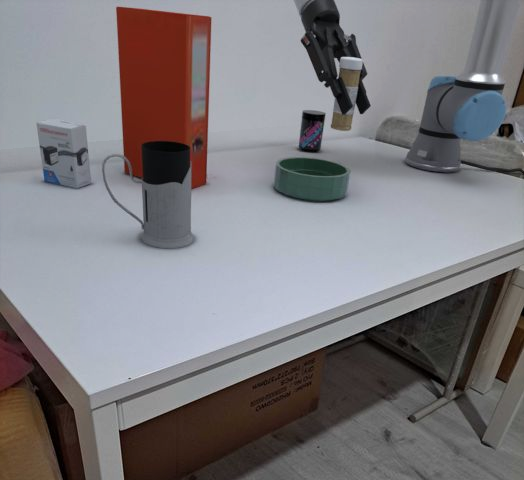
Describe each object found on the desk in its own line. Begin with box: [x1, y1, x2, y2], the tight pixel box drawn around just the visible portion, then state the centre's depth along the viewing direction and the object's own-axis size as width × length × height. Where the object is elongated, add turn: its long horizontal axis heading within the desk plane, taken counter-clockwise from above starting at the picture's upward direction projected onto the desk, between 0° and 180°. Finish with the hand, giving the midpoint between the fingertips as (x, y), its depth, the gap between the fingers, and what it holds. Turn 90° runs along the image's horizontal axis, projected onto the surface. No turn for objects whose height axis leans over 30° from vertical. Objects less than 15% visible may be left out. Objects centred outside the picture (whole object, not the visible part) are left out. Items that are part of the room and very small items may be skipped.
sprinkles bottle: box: [330, 57, 364, 132], centre depth 108 cm, size 5×5×13 cm
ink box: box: [35, 118, 92, 189], centre depth 107 cm, size 8×5×12 cm, turn 68°
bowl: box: [273, 156, 352, 202], centre depth 118 cm, size 17×17×6 cm
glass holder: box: [101, 141, 194, 249], centre depth 84 cm, size 9×14×15 cm, turn 107°
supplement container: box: [298, 109, 327, 153], centre depth 153 cm, size 7×7×10 cm
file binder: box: [115, 6, 212, 190], centre depth 110 cm, size 8×17×32 cm, turn 58°
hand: (356, 110), depth 107 cm, fingers closed on sprinkles bottle, 4 cm apart
